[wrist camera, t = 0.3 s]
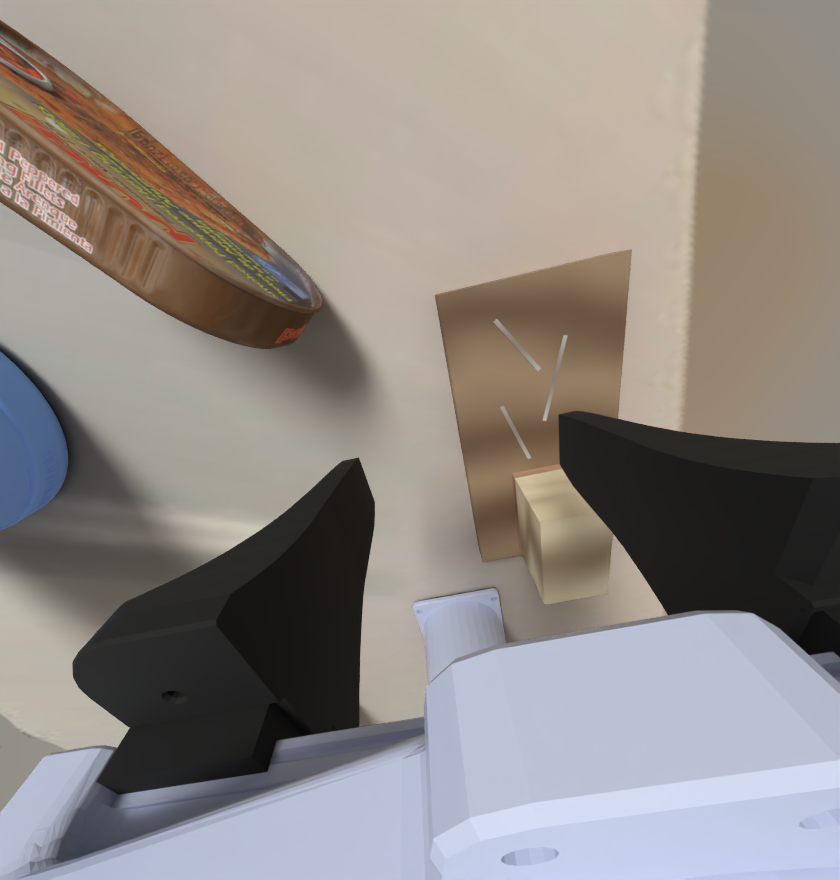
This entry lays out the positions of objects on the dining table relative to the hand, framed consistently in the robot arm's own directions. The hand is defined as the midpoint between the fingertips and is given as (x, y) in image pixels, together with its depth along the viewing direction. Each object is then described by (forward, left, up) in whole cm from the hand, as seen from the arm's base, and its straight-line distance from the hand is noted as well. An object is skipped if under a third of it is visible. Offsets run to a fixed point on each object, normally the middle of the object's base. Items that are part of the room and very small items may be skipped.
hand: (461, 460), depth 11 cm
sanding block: (-10, -6, -8) cm, 14 cm away
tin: (+11, +10, -10) cm, 18 cm away
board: (-5, -6, -10) cm, 12 cm away
